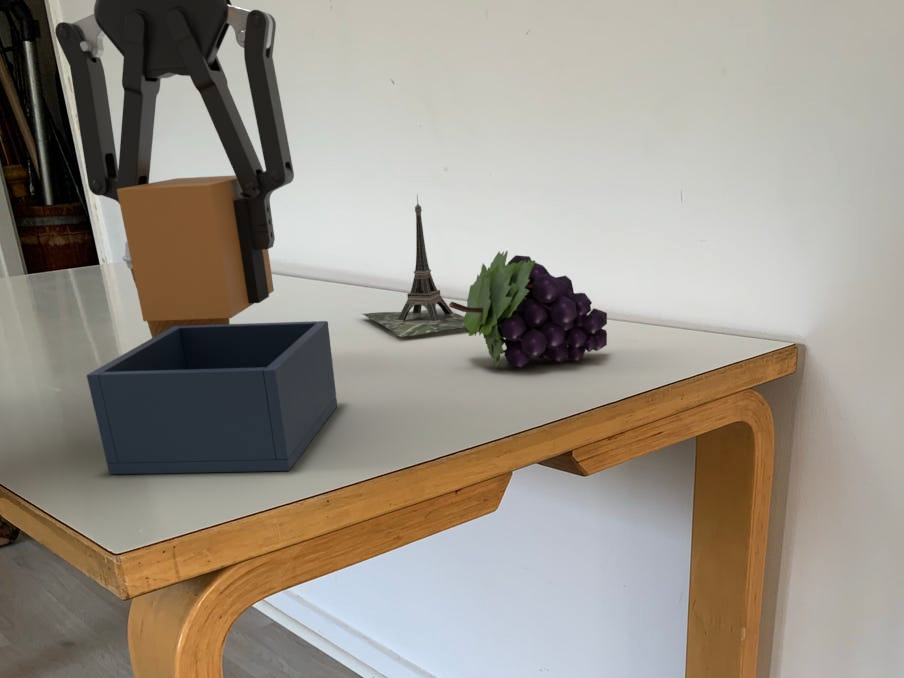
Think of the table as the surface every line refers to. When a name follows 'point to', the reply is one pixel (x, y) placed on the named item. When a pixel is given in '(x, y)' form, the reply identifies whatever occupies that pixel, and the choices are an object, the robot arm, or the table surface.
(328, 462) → the table surface
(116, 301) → the table surface
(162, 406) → the compartment
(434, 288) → the eiffel tower figurine
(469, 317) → the fruit
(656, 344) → the table surface
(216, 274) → the tan cardboard-coloured block
